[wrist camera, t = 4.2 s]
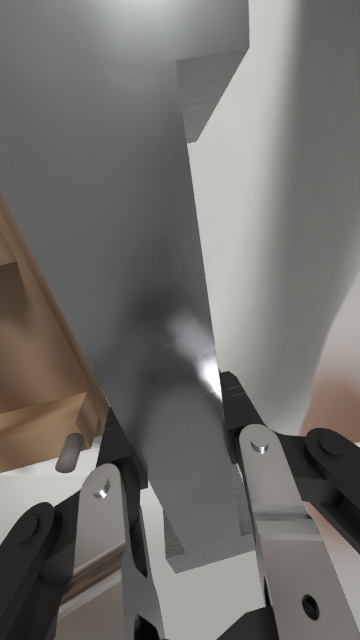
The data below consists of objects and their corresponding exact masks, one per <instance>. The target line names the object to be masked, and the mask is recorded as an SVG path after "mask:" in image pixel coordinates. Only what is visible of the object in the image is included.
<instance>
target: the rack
mask: <svg viewBox="0 0 360 640" xmlns="http://www.w3.org/2000/svg"><path fill="white" fill-rule="evenodd" d="M109 408H110V406H109V404H108V402H107V400H106V398H105V396H104V394H103V392H102V389H101V387H100V385H99V383H98V381H97V379H96V377H95V375H94V373H93V371H92V369H91V367H90V365H89V363H88V361H87V359H86V357H85V355H84V354H83V352H82V350H81V348H80V346H79V344H78V342H77V340H76V338H75V336H74V334H73V332H72V330H71V328H70V326H69V324H68V322H67V320H66V318H65V317H64V315H63V313H62V311H61V309H60V307H59V305H58V303H57V301H56V299H55V297H54V295H53V293H52V291H51V289H50V287H49V285H48V283H47V281H46V279H45V278H44V276H43V274H42V272H41V270H40V268H39V266H38V264H37V262H36V260H35V258H34V256H33V254H32V252H31V250H30V248H29V246H28V244H27V242H26V241H25V239H24V237H23V235H22V233H21V231H20V229H19V227H18V225H17V223H16V221H15V219H14V217H13V215H12V213H11V211H10V209H9V207H8V205H7V204H6V202H5V200H4V198H3V196H2V194H1V192H0V473H2V472H6V471H10V470H13V469H17V468H21V467H24V466H28V465H32V464H35V463H39V462H43V461H46V460H50V459H54V458H57V457H59V459H58V461H57V464H56V466H55V469H56V470H57V471H58V472H61V473H69V472H72V471H73V470H74V469H75V467H76V464H77V460H78V457H79V454H80V451H83V450H87V449H90V448H91V446H92V442H93V438H94V437H96V436H100V435H103V432H104V430H105V429H104V428H105V423H106V419H107V414H108V410H109Z"/></svg>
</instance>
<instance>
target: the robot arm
mask: <svg viewBox="0 0 360 640" xmlns="http://www.w3.org/2000/svg"><path fill="white" fill-rule="evenodd" d="M218 373H219V380H220V388H221V395H222V402H223V409H224V417H225V419H224V426H225V433H226V440H227V447H228V454H229V457H230V460H231V463H232V465H233V464H236V463H238V465H239V467H240V470H241V473H242V475H243V483H244V488H245V494H246V499H247V505H248V511H249V516H250V522H251V527H252V533H253V539H254V544H255V550H256V557H257V564H258V570H259V576H260V582H261V587H262V593H263V599H264V604H265V607H263V608H260V609H257V610H254V611H251V612H247V613H245V614H244V615H243V616H242V617H240V618H239V619H238V620H237V621H236V622H235V623H234V624H233V625H232V626H231V627H230V628H229V629H227V630H226V631H225V632H224V633H223V634H222V635H221V636H220V637H219V638H218V639H217V640H360V632H359V630H358V628H357V625H356V622H355V620H354V617H353V615H352V612H351V610H350V607H349V604H348V602H347V599H346V597H345V594H344V592H343V589H342V587H341V584H340V582H339V579H338V577H337V574H336V571H335V569H334V567H333V564H332V561H331V559H330V556H329V554H328V551H327V549H326V546H325V544H324V541H323V539H322V536H321V534H320V532H319V529H318V527H317V525H316V523H315V522H314V520H313V519H312V517H310V516H309V515H308V514H307V512H306V510H305V507H304V505H303V502H302V501H306V502H310V503H311V504H312V505H313V506H314V507H315V508H316V509H317V510H318V511H319V513H320V514H321V515H322V516H323V517H324V518H325V519H326V520H327V521H328V522H329V523H330V524H331V525H332V526H333V527H334V528H335V529H336V530H337V531H338V532H339V533H340V534H341V535H342V537H344V539H345V540H346V541H347V542H348V543H349V544H350V545H351V546H352V547H353V548H354V549H355V550H356V551H357V552H358V553H359V554H360V448H359V447H358V446H357V445H355V444H354V443H352V442H351V441H349V440H348V439H346V438H345V437H343V436H342V435H340V434H338V433H337V432H335V431H332V430H330V429H325V428H315V429H312V430H310V431H309V432H308V433H307V435H306V437H303V436H289V435H283V434H279V433H277V432H275V431H273V430H271V429H270V428H268V427H267V426H266V425H265V424H264V423H263V421H262V420H261V418H260V416H259V414H258V413H257V411H256V409H255V408H254V406H253V404H252V402H251V401H250V399H249V397H248V396H247V394H246V393H245V391H244V389H243V387H242V386H241V384H240V382H239V380H238V379H237V377H236V376H235V375H233V374H232V373H231V372H229V371H227V372H223V373H221V372H220V370H219V368H218ZM104 429H105V430H104V432H103V437H102V441H101V446H100V451H99V455H98V460H97V464H96V468H95V469H94V470H93V471H92V472H91V473H90V474H89V475H88V477H87V478H86V480H85V482H84V483H83V485H82V488H81V489H80V490H79V491H78V492H76V493H75V494H74V495H72V496H70V497H69V498H67V499H66V500H64V501H63V502H61V503H59V504H58V505H56V506H55V507H53V506H52V505H51V504H50V503H48V502H42V503H39V504H36V505H34V506H33V507H31V508H30V509H29V510H27V511H26V512H25V513H24V514H23V515H22V516H21V517H20V518H19V519H18V521H17V522H16V523H15V525H14V526H13V527H12V529H11V530H10V532H9V533H8V535H7V536H6V538H5V539H4V541H3V542H2V544H1V545H0V640H54V639H55V640H168V639H165V634H164V628H163V622H162V616H161V610H160V605H159V600H158V596H157V592H156V589H155V586H154V583H153V580H152V574H151V568H150V562H149V555H148V549H147V542H146V535H145V529H144V522H143V516H142V509H141V506H140V490H141V489H145V488H148V475H147V474H146V472H145V470H144V468H143V466H142V464H141V462H140V460H139V458H138V456H137V454H136V452H135V450H134V448H133V446H132V444H130V443H129V441H128V439H127V437H126V435H125V433H124V431H123V430H122V428H121V426H120V424H119V422H118V420H117V418H116V416H115V414H114V412H113V410H112V408H111V406H110V408H109V410H108V414H107V419H106V423H105V428H104Z"/></svg>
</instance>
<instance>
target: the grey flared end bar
mask: <svg viewBox="0 0 360 640" xmlns="http://www.w3.org/2000/svg"><path fill="white" fill-rule="evenodd" d="M248 49H249V7H248V0H0V192H1V194H2V196H3V198H4V200H5V202H6V204H7V205H8V207H9V209H10V211H11V213H12V215H13V217H14V219H15V221H16V223H17V225H18V227H19V229H20V231H21V233H22V235H23V237H24V239H25V241H26V242H27V244H28V246H29V248H30V250H31V252H32V254H33V256H34V258H35V260H36V262H37V264H38V266H39V268H40V270H41V272H42V274H43V276H44V278H45V279H46V281H47V283H48V285H49V287H50V289H51V291H52V293H53V295H54V297H55V299H56V301H57V303H58V305H59V307H60V309H61V311H62V313H63V315H64V317H65V318H66V320H67V322H68V324H69V326H70V328H71V330H72V332H73V334H74V336H75V338H76V340H77V342H78V344H79V346H80V348H81V350H82V352H83V354H84V355H85V357H86V359H87V361H88V363H89V365H90V367H91V369H92V371H93V373H94V375H95V377H96V379H97V381H98V383H99V385H100V387H101V389H102V391H103V392H104V394H105V396H106V398H107V400H108V402H109V404H110V406H111V408H112V410H113V412H114V414H115V416H116V418H117V420H118V422H119V424H120V426H121V428H122V430H123V431H124V433H125V435H126V437H127V439H128V441H129V443H130V444H132V446H133V448H134V450H135V452H136V454H137V456H138V458H139V460H140V462H141V464H142V466H143V468H144V470H145V472H146V474H147V475H148V480H149V482H150V484H151V486H152V488H153V490H154V492H155V494H156V496H157V498H158V500H159V501H160V504H161V505H162V507H163V515H164V533H165V534H164V535H165V553H166V560H167V561H168V563H169V564H170V566H171V567H172V569H173V570H174V572H175V573H180V572H183V571H186V570H190V569H193V568H196V567H200V566H203V565H206V564H209V563H213V562H216V561H219V560H223V559H226V558H230V557H233V556H236V555H239V554H243V553H246V552H250V551H253V550H255V544H254V539H253V533H252V527H251V522H250V516H249V511H248V505H247V499H246V494H245V488H244V485H243V482H242V479H241V477H240V474H239V471H238V468H237V466H236V464H233V465H232V463H231V460H230V457H229V454H228V447H227V440H226V433H225V426H224V419H225V417H224V409H223V402H222V395H221V388H220V380H219V373H218V366H217V359H216V351H215V344H214V337H213V330H212V322H211V315H210V308H209V301H208V293H207V286H206V279H205V272H204V264H203V257H202V250H201V243H200V235H199V228H198V221H197V214H196V206H195V199H194V192H193V185H192V177H191V170H190V163H189V156H188V148H187V143H191V142H196V141H197V140H198V138H199V136H200V134H201V132H202V131H203V129H204V127H205V125H206V124H207V122H208V120H209V118H210V116H211V115H212V113H213V111H214V109H215V108H216V106H217V104H218V102H219V100H220V99H221V97H222V95H223V93H224V91H225V90H226V88H227V86H228V84H229V83H230V81H231V79H232V77H233V75H234V74H235V72H236V70H237V68H238V67H239V65H240V63H241V61H242V59H243V58H244V56H245V54H246V52H247V51H248Z"/></svg>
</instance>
